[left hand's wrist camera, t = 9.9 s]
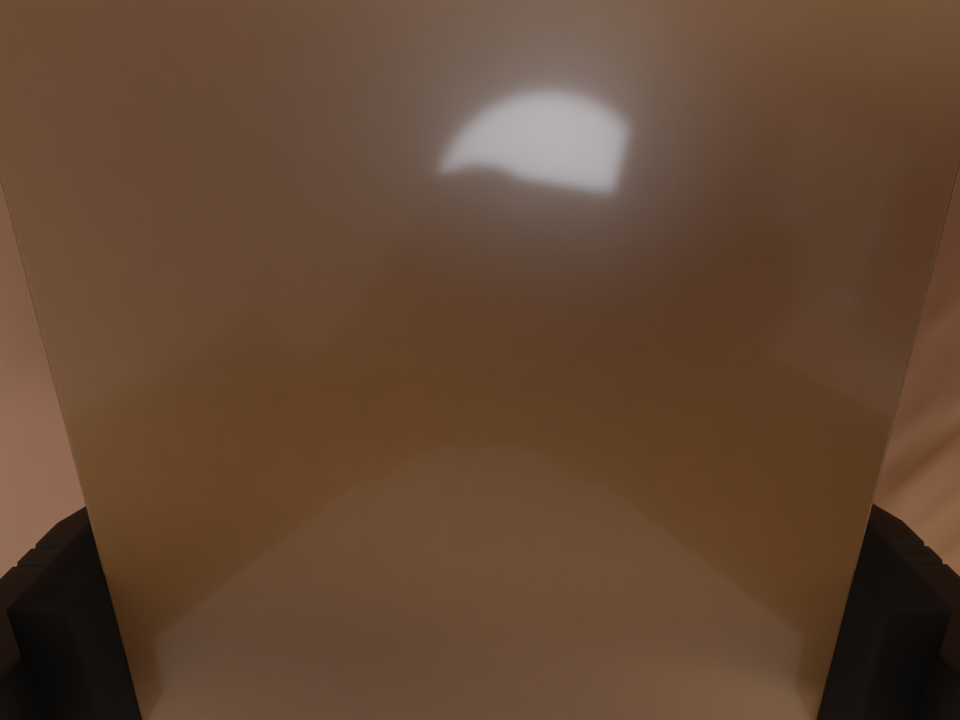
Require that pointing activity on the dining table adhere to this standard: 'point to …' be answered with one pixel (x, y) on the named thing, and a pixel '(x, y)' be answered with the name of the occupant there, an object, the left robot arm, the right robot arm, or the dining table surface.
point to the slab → (479, 337)
